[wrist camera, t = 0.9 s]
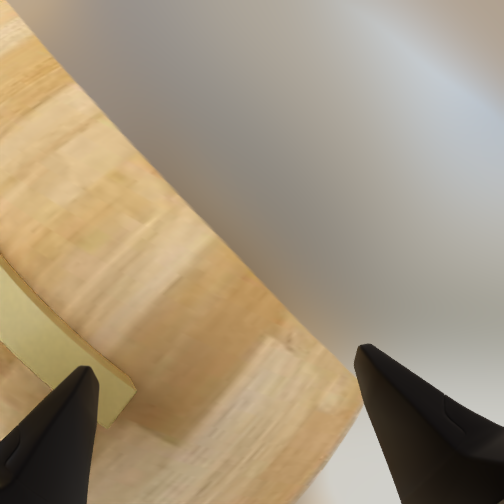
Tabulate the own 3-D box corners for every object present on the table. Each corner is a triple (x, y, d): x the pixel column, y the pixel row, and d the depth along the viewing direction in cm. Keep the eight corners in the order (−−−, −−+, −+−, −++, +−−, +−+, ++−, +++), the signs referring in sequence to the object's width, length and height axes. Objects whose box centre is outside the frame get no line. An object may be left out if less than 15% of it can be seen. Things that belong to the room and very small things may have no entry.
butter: (129, 377, 18) (137, 391, 15) (104, 410, 17) (107, 429, 14) (-17, 231, 14) (-33, 221, 11) (-43, 266, 13) (-62, 262, 10)
